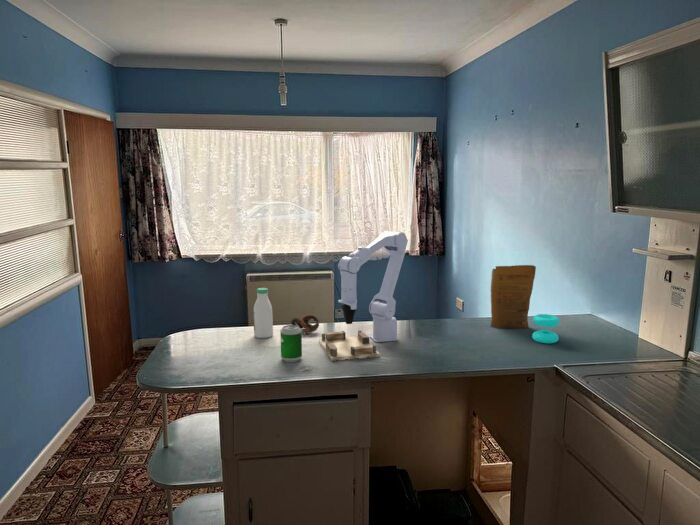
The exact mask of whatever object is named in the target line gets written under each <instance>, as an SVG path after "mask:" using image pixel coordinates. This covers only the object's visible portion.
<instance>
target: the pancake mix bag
mask: <svg viewBox="0 0 700 525" xmlns="http://www.w3.org/2000/svg"><path fill="white" fill-rule="evenodd" d="M536 270H537V266H536V265H533V264H520V265H519V264H518V265H496V266H495V267H494V268H492V271H491V281H490V306H491V307H490V310H491V311H490V313H491V322H490V327H493V328H496V329H521V330H522V329H528V328H529V327H530V326H529V321H528V318H529V317H528V316H529V310H530V301H531V297H532V292H533V287H534V282H535V278H536Z"/></svg>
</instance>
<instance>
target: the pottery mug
mask: <svg viewBox="0 0 700 525" xmlns="http://www.w3.org/2000/svg"><path fill="white" fill-rule="evenodd" d="M310 320H314V321H315V322H316V323H315V324H313V325H312V324H311V323H309V321H310ZM290 323H291V324H290V325H297V326H299V328H301V330H302V329H304V332H303V334H304V335H306V336H307V335H309V334H310V333H313V332H315V331H317V330H318V329H319V326H320V323H319V320H318V318H317V317H316V316H314V315H311V314H305V315H303V316H302V317H301V318H297V317H293V318H292V319H291V321H290Z"/></svg>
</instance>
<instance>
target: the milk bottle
mask: <svg viewBox="0 0 700 525" xmlns="http://www.w3.org/2000/svg"><path fill="white" fill-rule="evenodd" d="M256 294H257V298H256V300H255V302H254V305H253V336H254V338H258V339H267V338H271V337H273V335H274V326H273V324H274V322H273V318H274V317H273V306H272V303H271V301H270V299H269V296H268V294H269V289H268V287H259V288H257V289H256Z"/></svg>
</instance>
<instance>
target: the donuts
mask: <svg viewBox="0 0 700 525" xmlns="http://www.w3.org/2000/svg"><path fill="white" fill-rule="evenodd" d="M532 320H533V322H534V324H535V325H537V326H539V327H544V328H545V327H546V328H554V327H556V326H559V325H560V323H561V321H560V318H559V317H558V316H556V315H552V314H546V313H540V314H539V313H538V314H536V315H534V316H533V318H532ZM531 338H532V339H533V340H534V341H535V342H537V343H542V344H556V343H557V342H558V341H559V340H560V338H559V335H558V334H557V333H556V332H554V331H552V330H549V329H547V330H546V329H538V330H535V331H534V332H533V333H532V336H531Z"/></svg>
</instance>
